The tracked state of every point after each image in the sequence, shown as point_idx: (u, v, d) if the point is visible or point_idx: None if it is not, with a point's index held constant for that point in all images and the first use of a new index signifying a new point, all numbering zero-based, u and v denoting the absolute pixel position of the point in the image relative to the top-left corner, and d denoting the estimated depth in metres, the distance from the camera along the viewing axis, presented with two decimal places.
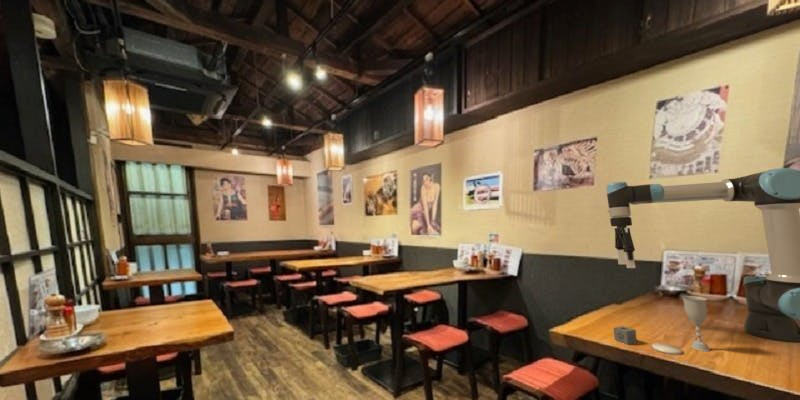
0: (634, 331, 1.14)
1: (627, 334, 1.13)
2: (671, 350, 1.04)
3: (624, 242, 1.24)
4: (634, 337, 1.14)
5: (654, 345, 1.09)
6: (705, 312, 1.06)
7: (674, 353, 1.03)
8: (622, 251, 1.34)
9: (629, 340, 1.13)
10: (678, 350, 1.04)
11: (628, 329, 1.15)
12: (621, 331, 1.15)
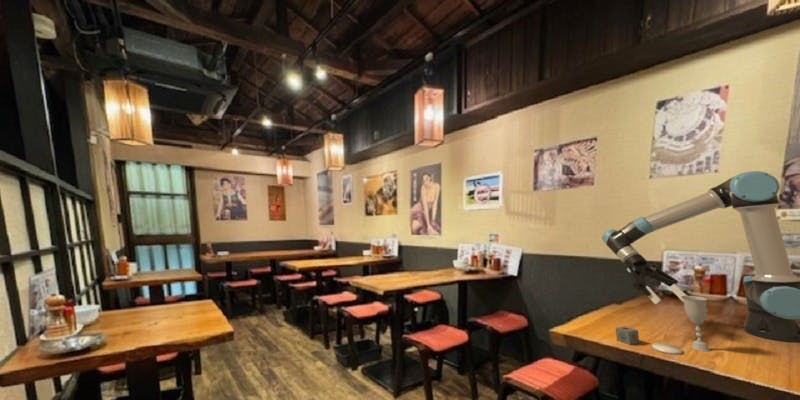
0: (636, 331, 1.14)
1: (629, 334, 1.13)
2: (671, 350, 1.04)
3: None
4: (636, 337, 1.14)
5: (654, 345, 1.09)
6: (705, 312, 1.06)
7: (674, 353, 1.03)
8: (673, 286, 1.21)
9: (631, 340, 1.13)
10: (678, 350, 1.04)
11: (630, 329, 1.15)
12: (623, 331, 1.15)
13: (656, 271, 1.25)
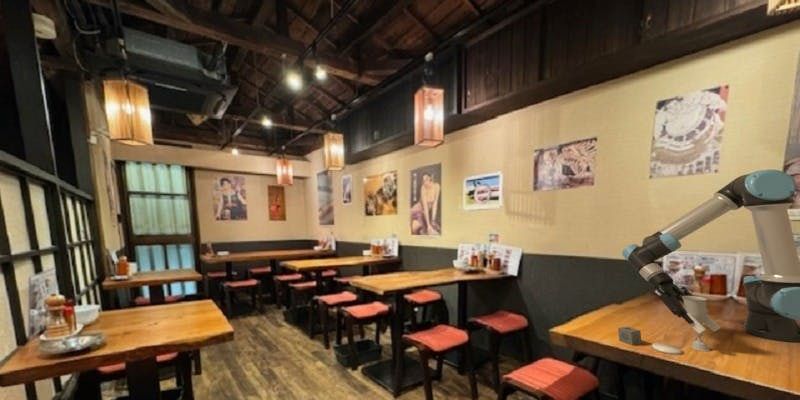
0: (639, 331, 1.14)
1: (632, 334, 1.13)
2: (671, 350, 1.04)
3: None
4: (639, 337, 1.13)
5: (654, 345, 1.09)
6: (705, 312, 1.06)
7: (674, 353, 1.03)
8: None
9: (634, 340, 1.12)
10: (678, 350, 1.04)
11: (633, 329, 1.15)
12: (626, 331, 1.14)
13: (684, 293, 1.15)
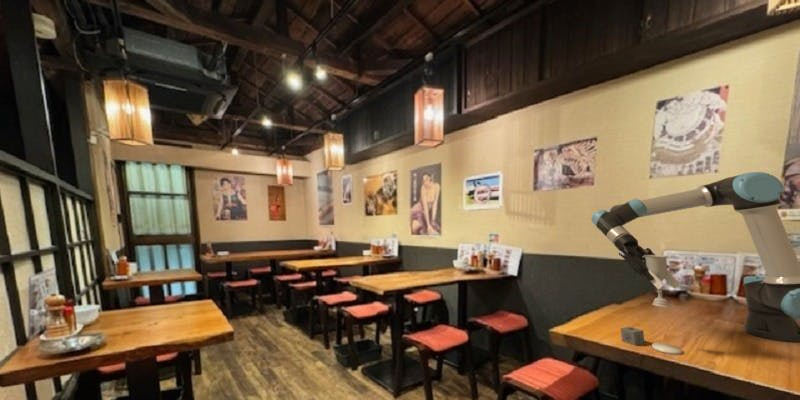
0: (642, 332, 1.13)
1: (634, 335, 1.12)
2: (671, 350, 1.04)
3: None
4: (642, 338, 1.13)
5: (654, 345, 1.09)
6: (665, 269, 1.07)
7: (674, 353, 1.03)
8: None
9: (636, 341, 1.12)
10: (678, 350, 1.04)
11: (635, 330, 1.14)
12: (628, 332, 1.14)
13: (648, 253, 1.16)
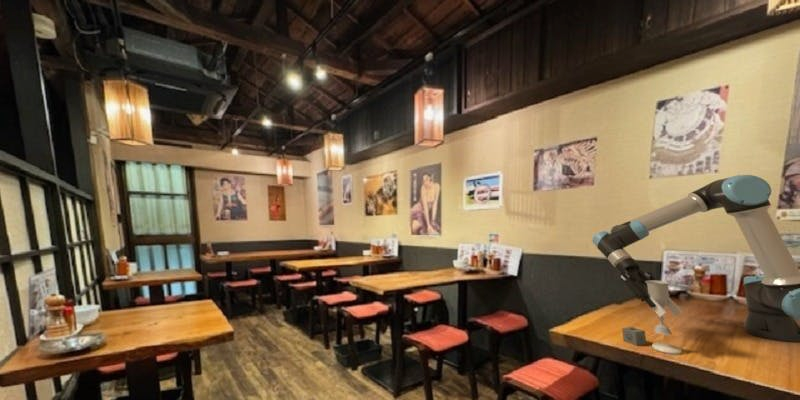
0: (643, 332, 1.13)
1: (636, 335, 1.12)
2: (671, 350, 1.04)
3: None
4: (643, 338, 1.13)
5: (654, 345, 1.09)
6: (667, 296, 1.06)
7: (674, 353, 1.03)
8: None
9: (638, 341, 1.12)
10: (678, 350, 1.04)
11: (637, 330, 1.14)
12: (630, 332, 1.14)
13: (649, 278, 1.15)
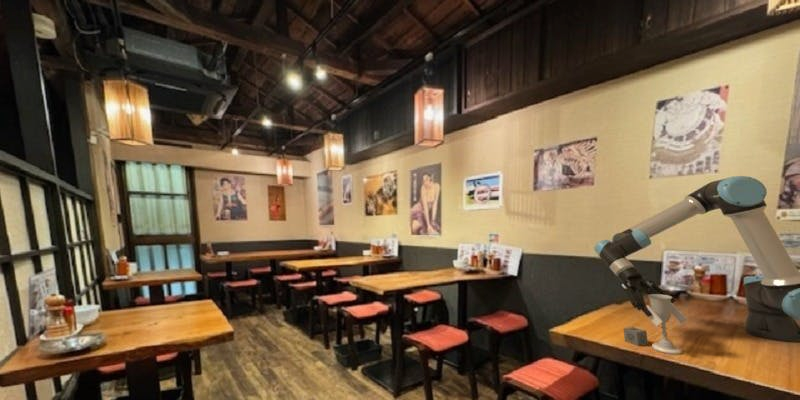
0: (645, 332, 1.13)
1: (637, 335, 1.12)
2: (671, 350, 1.04)
3: None
4: (645, 338, 1.13)
5: (654, 345, 1.09)
6: (670, 310, 1.06)
7: (674, 353, 1.03)
8: None
9: (639, 341, 1.12)
10: (678, 350, 1.04)
11: (638, 330, 1.14)
12: (631, 332, 1.14)
13: (652, 287, 1.15)
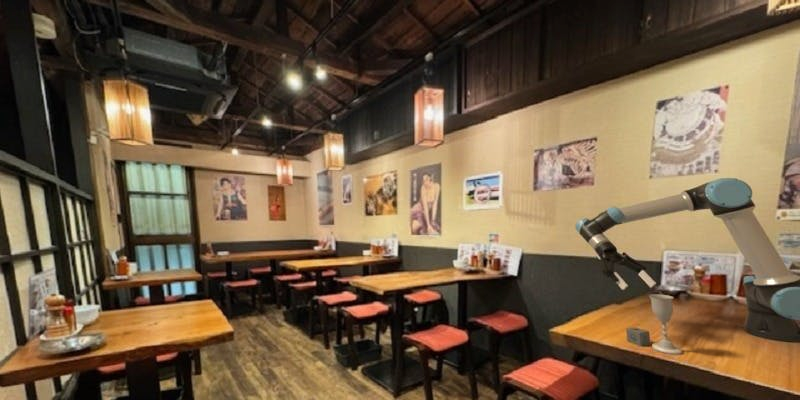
0: (647, 332, 1.13)
1: (640, 335, 1.12)
2: (671, 350, 1.04)
3: (607, 267, 1.24)
4: (647, 338, 1.12)
5: (654, 345, 1.09)
6: (671, 311, 1.06)
7: (674, 353, 1.03)
8: (642, 272, 1.22)
9: (642, 341, 1.11)
10: (678, 350, 1.04)
11: (641, 330, 1.14)
12: (634, 332, 1.13)
13: (626, 258, 1.26)
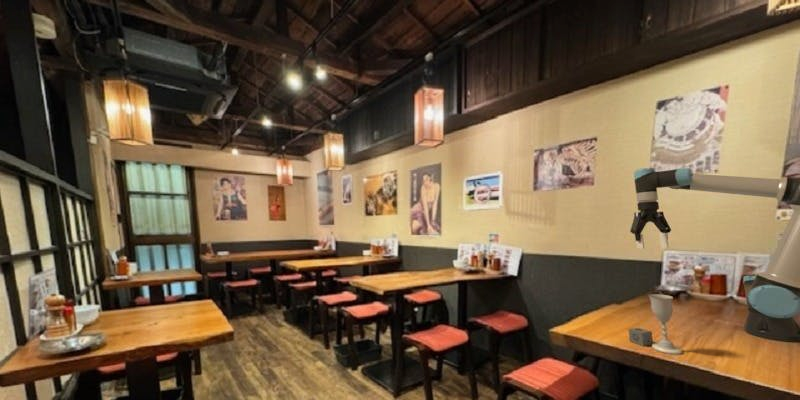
0: (650, 333, 1.12)
1: (642, 335, 1.11)
2: (671, 350, 1.04)
3: None
4: (650, 339, 1.12)
5: (654, 345, 1.09)
6: (670, 311, 1.06)
7: (674, 353, 1.03)
8: (663, 234, 1.36)
9: (645, 342, 1.11)
10: (678, 350, 1.04)
11: (644, 330, 1.13)
12: (636, 332, 1.13)
13: (659, 219, 1.35)
